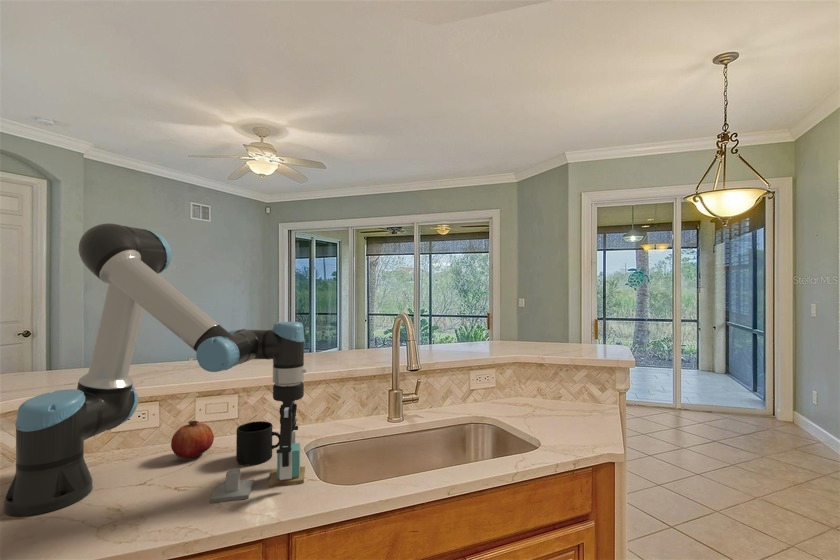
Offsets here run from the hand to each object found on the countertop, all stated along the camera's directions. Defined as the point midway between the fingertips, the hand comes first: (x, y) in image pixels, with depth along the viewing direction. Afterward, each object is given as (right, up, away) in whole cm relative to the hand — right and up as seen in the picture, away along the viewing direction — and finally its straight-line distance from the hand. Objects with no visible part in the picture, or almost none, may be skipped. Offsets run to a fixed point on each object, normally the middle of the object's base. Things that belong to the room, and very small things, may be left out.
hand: (288, 466), depth 107 cm
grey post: (-11, -3, -8) cm, 13 cm away
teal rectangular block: (0, -2, 0) cm, 2 cm away
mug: (-12, -3, +12) cm, 17 cm away
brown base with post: (0, -3, 0) cm, 3 cm away
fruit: (-31, -3, +13) cm, 34 cm away
